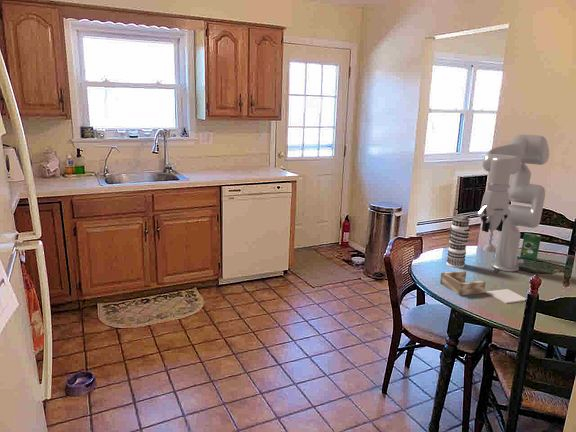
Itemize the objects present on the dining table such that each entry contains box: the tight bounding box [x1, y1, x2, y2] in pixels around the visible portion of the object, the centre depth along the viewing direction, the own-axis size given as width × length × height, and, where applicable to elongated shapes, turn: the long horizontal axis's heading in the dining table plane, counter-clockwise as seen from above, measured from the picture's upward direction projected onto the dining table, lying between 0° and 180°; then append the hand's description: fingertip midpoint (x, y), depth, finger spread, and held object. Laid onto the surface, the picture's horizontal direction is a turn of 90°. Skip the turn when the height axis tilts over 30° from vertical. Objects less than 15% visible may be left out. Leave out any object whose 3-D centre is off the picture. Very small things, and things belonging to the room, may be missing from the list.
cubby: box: [439, 270, 487, 296], centre depth 194 cm, size 12×13×5 cm
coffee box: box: [519, 232, 542, 261], centre depth 236 cm, size 8×3×13 cm, turn 58°
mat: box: [486, 288, 527, 304], centre depth 187 cm, size 11×11×1 cm
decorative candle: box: [446, 214, 471, 269], centre depth 221 cm, size 9×9×25 cm
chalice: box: [482, 210, 504, 253], centre depth 185 cm, size 7×7×18 cm
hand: (491, 230), depth 185 cm, fingers closed on chalice, 5 cm apart
